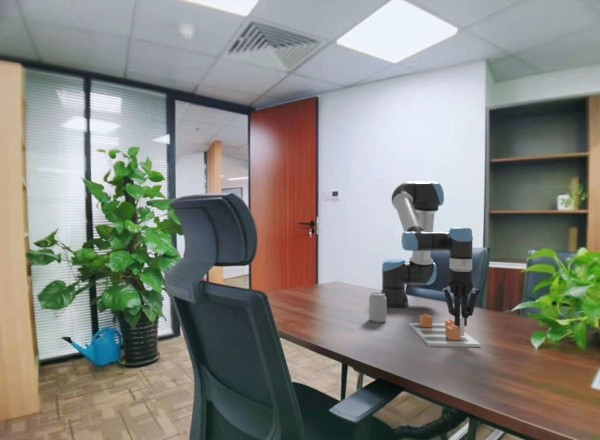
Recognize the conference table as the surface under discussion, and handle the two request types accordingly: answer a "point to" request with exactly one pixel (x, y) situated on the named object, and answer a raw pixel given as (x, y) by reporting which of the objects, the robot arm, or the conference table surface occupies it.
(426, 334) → the panel
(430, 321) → the orange small block
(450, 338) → the tab
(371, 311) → the can
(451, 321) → the tab
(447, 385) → the conference table surface
